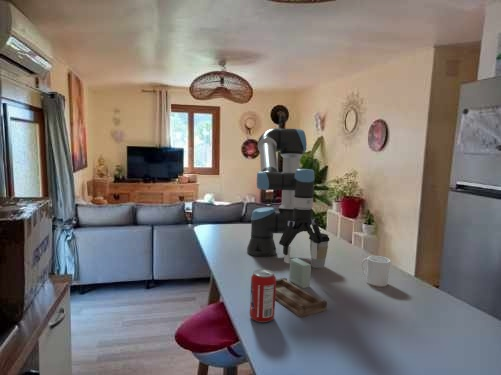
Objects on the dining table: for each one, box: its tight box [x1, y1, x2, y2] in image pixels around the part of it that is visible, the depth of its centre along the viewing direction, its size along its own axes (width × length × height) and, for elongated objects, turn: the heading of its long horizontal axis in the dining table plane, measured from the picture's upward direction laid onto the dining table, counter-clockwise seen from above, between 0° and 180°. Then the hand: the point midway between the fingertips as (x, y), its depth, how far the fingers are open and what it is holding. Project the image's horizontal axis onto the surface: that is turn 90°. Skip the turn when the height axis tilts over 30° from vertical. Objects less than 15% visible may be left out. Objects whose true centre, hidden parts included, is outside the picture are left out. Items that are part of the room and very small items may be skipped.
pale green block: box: [288, 257, 312, 289], centre depth 139 cm, size 9×4×9 cm, turn 30°
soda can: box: [249, 268, 277, 323], centre depth 108 cm, size 8×8×15 cm
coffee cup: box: [308, 232, 330, 269], centre depth 160 cm, size 9×9×15 cm
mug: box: [361, 255, 391, 288], centre depth 142 cm, size 11×9×10 cm
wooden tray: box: [275, 277, 328, 318], centre depth 124 cm, size 24×11×3 cm, turn 30°
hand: (300, 260), depth 138 cm, fingers open, 13 cm apart
